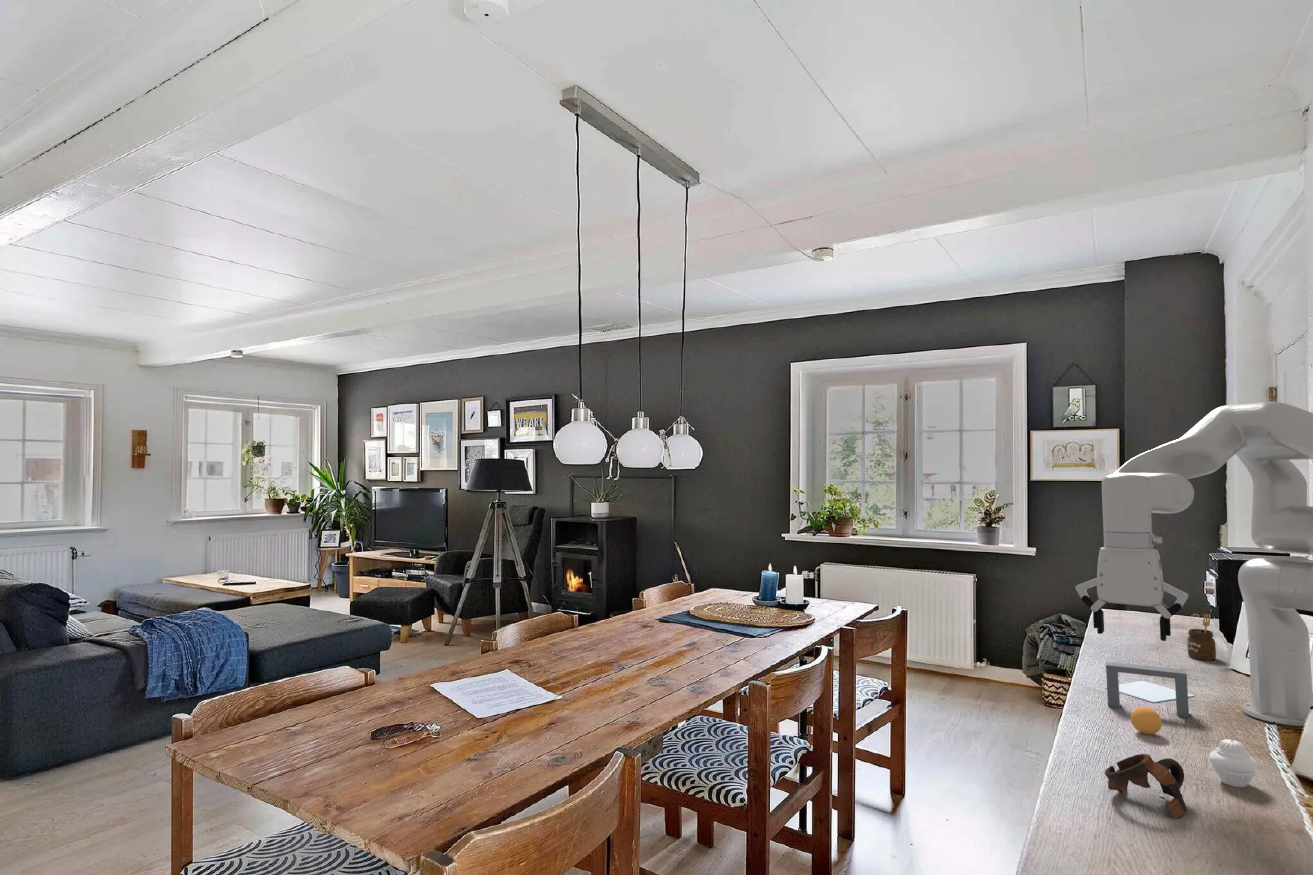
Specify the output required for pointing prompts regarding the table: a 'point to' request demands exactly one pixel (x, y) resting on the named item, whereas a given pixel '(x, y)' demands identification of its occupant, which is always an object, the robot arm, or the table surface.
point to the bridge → (1177, 674)
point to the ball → (1146, 720)
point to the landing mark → (1148, 691)
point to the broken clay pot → (1137, 774)
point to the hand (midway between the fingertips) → (1131, 636)
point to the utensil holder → (1201, 642)
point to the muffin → (1233, 763)
